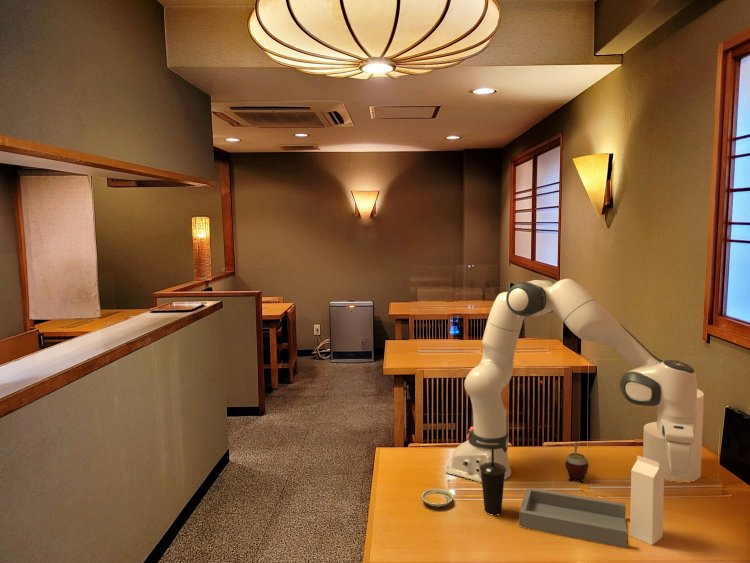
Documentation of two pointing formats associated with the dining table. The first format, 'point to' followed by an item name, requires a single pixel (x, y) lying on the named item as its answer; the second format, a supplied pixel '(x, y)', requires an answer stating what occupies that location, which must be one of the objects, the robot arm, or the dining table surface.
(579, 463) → the mate gourd
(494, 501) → the drinking cup
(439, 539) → the dining table surface
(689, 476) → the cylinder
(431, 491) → the saucer
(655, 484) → the milk
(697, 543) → the dining table surface
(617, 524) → the trough
